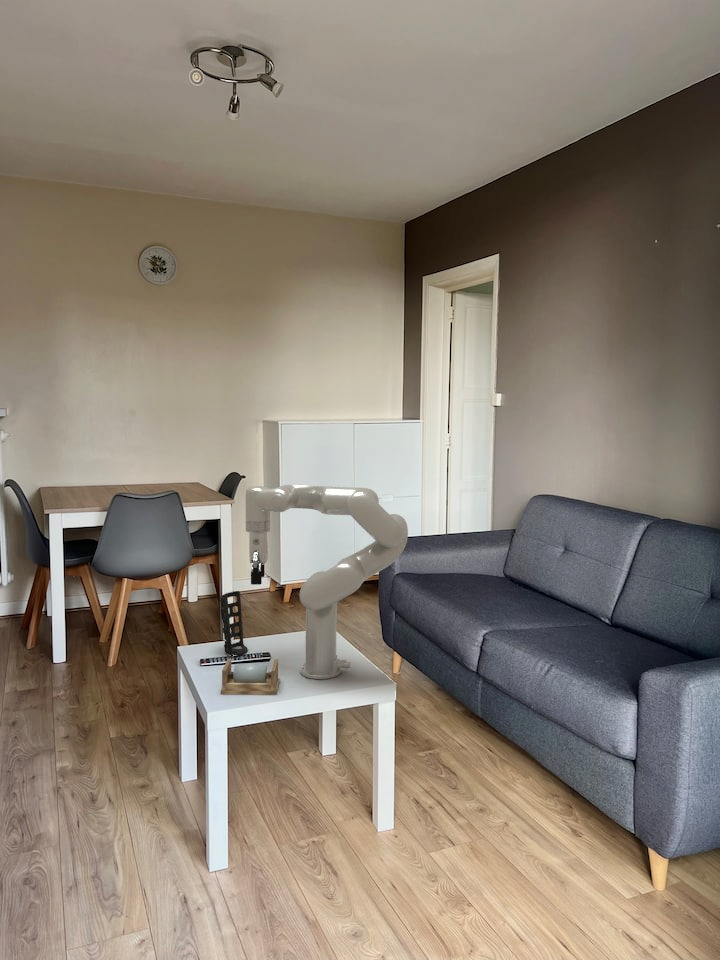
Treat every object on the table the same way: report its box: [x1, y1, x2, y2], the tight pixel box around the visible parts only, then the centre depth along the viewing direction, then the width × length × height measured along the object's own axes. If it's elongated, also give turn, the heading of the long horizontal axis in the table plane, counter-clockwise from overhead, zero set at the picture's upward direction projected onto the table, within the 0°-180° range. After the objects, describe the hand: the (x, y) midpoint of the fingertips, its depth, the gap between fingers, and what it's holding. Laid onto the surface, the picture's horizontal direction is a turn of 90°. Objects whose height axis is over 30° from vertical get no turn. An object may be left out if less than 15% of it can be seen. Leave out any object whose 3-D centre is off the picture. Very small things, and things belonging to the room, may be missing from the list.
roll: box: [233, 663, 268, 683], centre depth 212 cm, size 10×6×6 cm, turn 91°
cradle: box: [219, 658, 281, 696], centre depth 212 cm, size 16×10×7 cm, turn 91°
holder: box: [219, 590, 248, 657], centre depth 242 cm, size 11×8×20 cm
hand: (257, 580), depth 226 cm, fingers open, 9 cm apart
